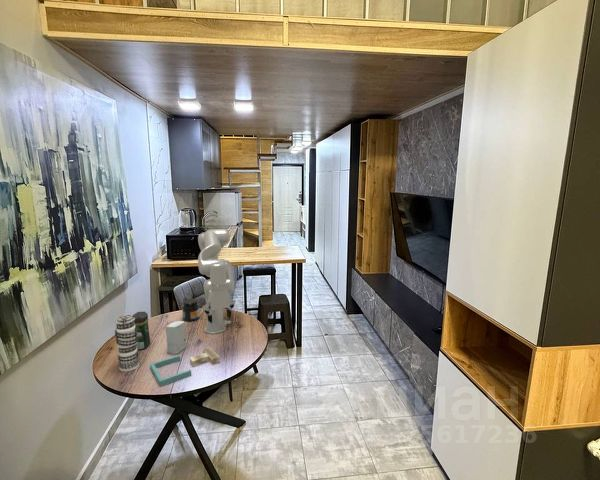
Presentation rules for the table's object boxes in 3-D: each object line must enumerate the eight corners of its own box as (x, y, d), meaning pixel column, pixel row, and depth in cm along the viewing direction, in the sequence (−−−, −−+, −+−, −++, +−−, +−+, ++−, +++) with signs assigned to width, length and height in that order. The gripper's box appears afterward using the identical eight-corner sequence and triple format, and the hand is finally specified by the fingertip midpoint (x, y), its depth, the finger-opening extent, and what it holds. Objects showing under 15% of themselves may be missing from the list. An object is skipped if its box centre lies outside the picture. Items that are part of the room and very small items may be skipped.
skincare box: (176, 354, 164) (174, 327, 162) (166, 353, 166) (164, 326, 164) (186, 347, 172) (185, 321, 170) (177, 345, 174) (175, 319, 171)
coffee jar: (136, 342, 177) (134, 310, 174) (151, 341, 178) (149, 309, 175) (130, 351, 168) (127, 317, 165) (146, 350, 169) (143, 316, 166)
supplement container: (202, 318, 209) (201, 301, 207) (187, 323, 202) (185, 305, 200) (195, 314, 217) (194, 297, 215) (180, 318, 209) (179, 301, 207)
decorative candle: (119, 363, 156) (115, 314, 152) (141, 359, 159) (136, 312, 155) (116, 373, 148) (111, 322, 144) (139, 369, 151) (134, 319, 147)
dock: (179, 359, 160) (179, 354, 159) (191, 375, 146) (191, 370, 146) (150, 368, 152) (149, 363, 151) (160, 386, 138) (159, 381, 138)
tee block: (210, 352, 167) (210, 347, 166) (219, 362, 157) (219, 356, 157) (187, 360, 160) (186, 354, 159) (195, 370, 150) (195, 365, 150)
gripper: (231, 282, 167) (232, 313, 170) (198, 288, 157) (200, 321, 160) (237, 285, 161) (238, 318, 164) (203, 292, 151) (205, 326, 154)
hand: (219, 319), depth 162 cm, fingers open, 9 cm apart
